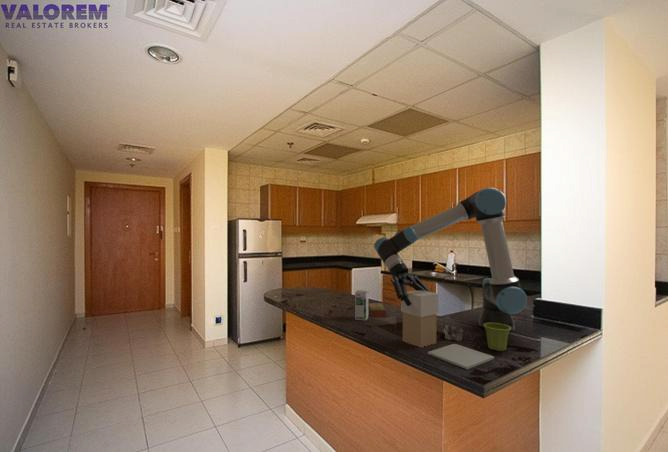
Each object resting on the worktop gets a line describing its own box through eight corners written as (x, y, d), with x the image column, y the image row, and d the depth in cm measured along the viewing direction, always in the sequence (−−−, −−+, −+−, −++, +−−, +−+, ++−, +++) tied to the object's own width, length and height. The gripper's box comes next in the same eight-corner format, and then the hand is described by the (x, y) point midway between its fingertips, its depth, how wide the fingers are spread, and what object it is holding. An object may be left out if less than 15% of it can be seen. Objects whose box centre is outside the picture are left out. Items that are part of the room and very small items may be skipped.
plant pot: (502, 344, 129) (502, 322, 129) (516, 353, 120) (516, 329, 120) (479, 344, 129) (479, 322, 129) (491, 353, 120) (491, 329, 120)
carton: (381, 310, 186) (381, 302, 186) (386, 317, 170) (386, 309, 170) (367, 310, 186) (367, 302, 186) (370, 317, 170) (371, 309, 170)
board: (454, 345, 127) (454, 343, 127) (494, 358, 114) (494, 356, 114) (427, 354, 118) (427, 351, 118) (467, 369, 105) (467, 367, 105)
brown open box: (418, 337, 138) (418, 308, 138) (436, 343, 130) (436, 313, 130) (402, 341, 132) (402, 311, 133) (420, 347, 125) (420, 316, 125)
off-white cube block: (418, 311, 139) (418, 289, 139) (438, 317, 130) (438, 293, 130) (400, 315, 133) (400, 291, 133) (420, 321, 124) (420, 296, 124)
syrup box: (354, 319, 164) (354, 291, 164) (358, 317, 170) (358, 289, 170) (365, 321, 162) (365, 292, 162) (368, 318, 168) (368, 290, 168)
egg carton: (462, 342, 132) (462, 332, 132) (442, 339, 135) (442, 330, 135) (463, 334, 142) (463, 325, 142) (445, 332, 145) (445, 323, 145)
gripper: (410, 271, 151) (438, 311, 138) (373, 274, 138) (399, 319, 125) (419, 260, 147) (448, 301, 133) (381, 263, 134) (410, 308, 120)
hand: (425, 310), depth 129 cm, fingers closed on off-white cube block, 10 cm apart
